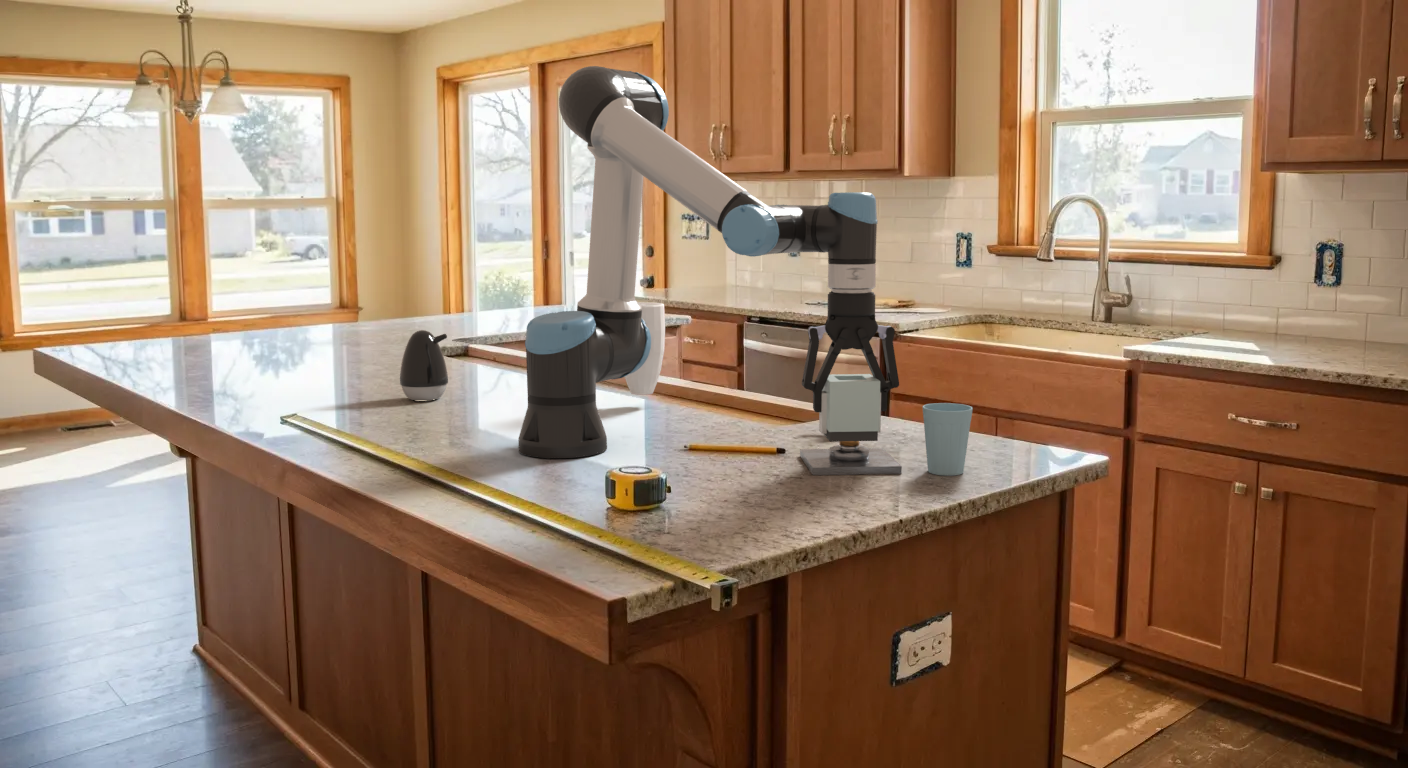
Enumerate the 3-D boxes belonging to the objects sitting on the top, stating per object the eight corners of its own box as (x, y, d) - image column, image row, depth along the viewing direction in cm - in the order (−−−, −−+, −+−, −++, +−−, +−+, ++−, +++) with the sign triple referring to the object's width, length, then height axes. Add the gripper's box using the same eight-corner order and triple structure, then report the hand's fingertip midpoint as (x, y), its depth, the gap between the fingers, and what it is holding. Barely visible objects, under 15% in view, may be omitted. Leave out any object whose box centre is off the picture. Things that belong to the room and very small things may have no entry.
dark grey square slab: (830, 441, 186) (830, 431, 186) (822, 432, 194) (822, 422, 194) (877, 440, 187) (877, 430, 187) (868, 431, 194) (868, 422, 194)
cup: (976, 477, 182) (978, 410, 181) (927, 478, 182) (929, 411, 180) (963, 466, 190) (964, 402, 188) (916, 467, 189) (917, 403, 188)
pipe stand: (812, 475, 184) (813, 389, 182) (800, 456, 198) (800, 376, 196) (901, 473, 185) (903, 388, 183) (882, 455, 198) (884, 375, 196)
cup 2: (676, 405, 248) (676, 303, 245) (648, 412, 239) (647, 306, 236) (636, 401, 254) (635, 301, 250) (607, 408, 245) (605, 304, 242)
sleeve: (829, 431, 186) (829, 381, 185) (821, 422, 194) (821, 374, 193) (879, 431, 187) (880, 381, 185) (869, 422, 194) (870, 373, 193)
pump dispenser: (443, 403, 251) (441, 332, 249) (395, 403, 252) (392, 332, 249) (454, 395, 261) (452, 327, 259) (407, 395, 262) (404, 327, 259)
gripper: (789, 292, 183) (788, 437, 186) (922, 291, 184) (919, 435, 187) (783, 289, 190) (782, 428, 193) (911, 288, 191) (908, 426, 195)
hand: (849, 431), depth 190 cm, fingers closed on sleeve, 8 cm apart
